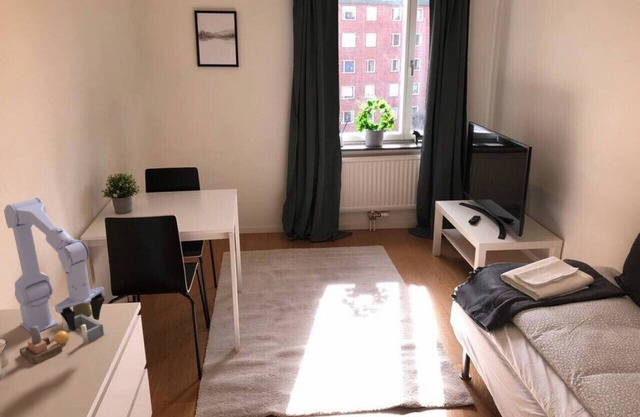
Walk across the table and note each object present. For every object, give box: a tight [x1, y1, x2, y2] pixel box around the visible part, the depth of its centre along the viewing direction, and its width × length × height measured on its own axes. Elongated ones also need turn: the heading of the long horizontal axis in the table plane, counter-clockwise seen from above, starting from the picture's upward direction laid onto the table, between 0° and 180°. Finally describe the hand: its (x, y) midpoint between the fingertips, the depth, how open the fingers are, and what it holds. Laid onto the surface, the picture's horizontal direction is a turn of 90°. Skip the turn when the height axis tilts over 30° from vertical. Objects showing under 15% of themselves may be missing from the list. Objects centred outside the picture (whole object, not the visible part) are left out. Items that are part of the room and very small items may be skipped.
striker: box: [27, 325, 48, 355], centre depth 163 cm, size 5×3×9 cm, turn 54°
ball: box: [54, 330, 70, 345], centre depth 170 cm, size 4×4×4 cm
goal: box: [60, 314, 105, 345], centre depth 175 cm, size 12×7×6 cm, turn 54°
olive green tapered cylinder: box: [72, 302, 92, 318], centre depth 185 cm, size 6×6×11 cm
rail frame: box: [19, 336, 63, 365], centre depth 165 cm, size 8×8×2 cm
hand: (84, 324), depth 162 cm, fingers open, 7 cm apart
